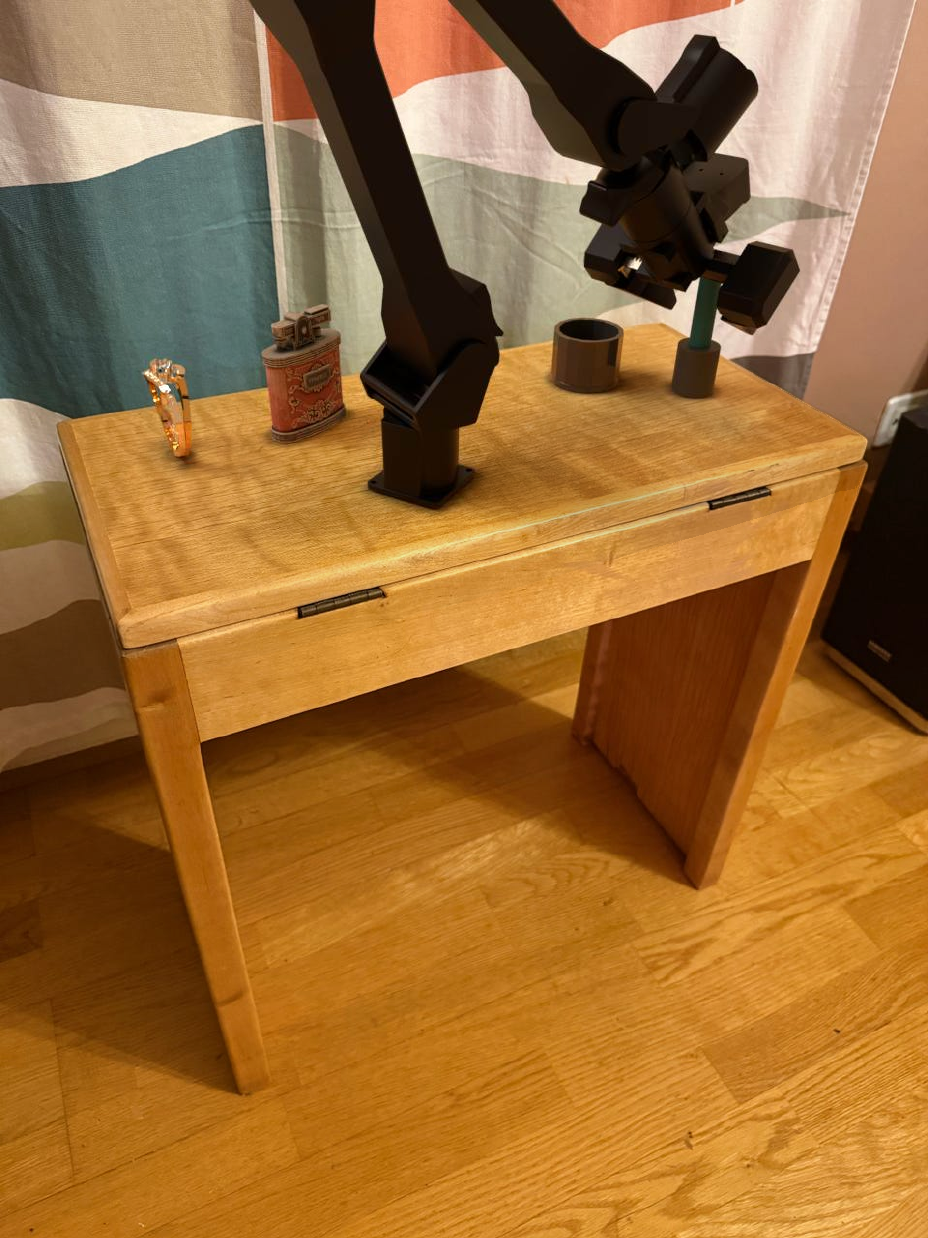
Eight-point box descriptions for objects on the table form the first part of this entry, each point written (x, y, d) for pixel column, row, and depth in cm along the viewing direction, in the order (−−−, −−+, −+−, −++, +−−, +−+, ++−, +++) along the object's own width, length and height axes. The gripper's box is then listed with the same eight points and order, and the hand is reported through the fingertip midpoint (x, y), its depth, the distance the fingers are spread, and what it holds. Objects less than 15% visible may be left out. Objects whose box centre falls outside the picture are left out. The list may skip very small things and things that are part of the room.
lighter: (290, 446, 78) (277, 330, 72) (262, 435, 79) (247, 321, 73) (354, 415, 83) (347, 304, 77) (327, 405, 84) (318, 296, 78)
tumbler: (602, 398, 86) (608, 346, 83) (539, 384, 89) (542, 333, 86) (627, 374, 91) (633, 325, 88) (566, 361, 94) (570, 313, 91)
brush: (705, 401, 86) (729, 271, 79) (665, 392, 88) (684, 263, 80) (718, 386, 89) (742, 259, 82) (678, 378, 90) (698, 252, 83)
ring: (151, 441, 78) (131, 349, 73) (189, 433, 79) (172, 343, 74) (169, 476, 73) (149, 381, 68) (209, 468, 74) (192, 374, 70)
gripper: (817, 138, 67) (852, 264, 79) (617, 106, 77) (676, 222, 90) (735, 271, 67) (783, 375, 80) (548, 220, 78) (616, 320, 90)
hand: (712, 317), depth 85 cm, fingers open, 9 cm apart
